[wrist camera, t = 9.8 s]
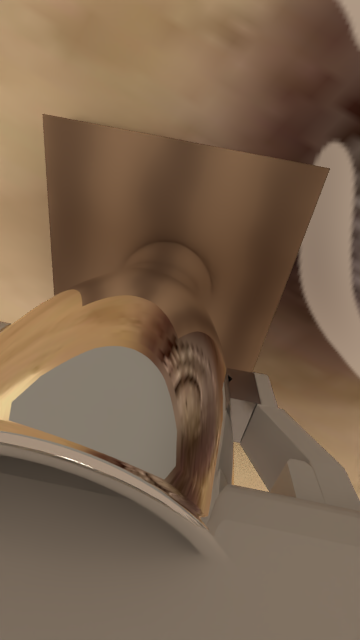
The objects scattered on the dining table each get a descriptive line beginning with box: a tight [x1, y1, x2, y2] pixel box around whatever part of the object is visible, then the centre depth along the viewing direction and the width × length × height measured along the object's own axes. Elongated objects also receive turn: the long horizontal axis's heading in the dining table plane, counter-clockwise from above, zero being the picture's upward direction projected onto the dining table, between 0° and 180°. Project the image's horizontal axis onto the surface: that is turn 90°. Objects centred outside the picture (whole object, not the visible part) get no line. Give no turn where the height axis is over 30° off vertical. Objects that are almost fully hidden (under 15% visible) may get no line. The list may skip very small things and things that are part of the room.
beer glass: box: [0, 241, 234, 564], centre depth 11 cm, size 7×7×15 cm
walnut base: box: [43, 114, 330, 372], centre depth 19 cm, size 16×16×3 cm
